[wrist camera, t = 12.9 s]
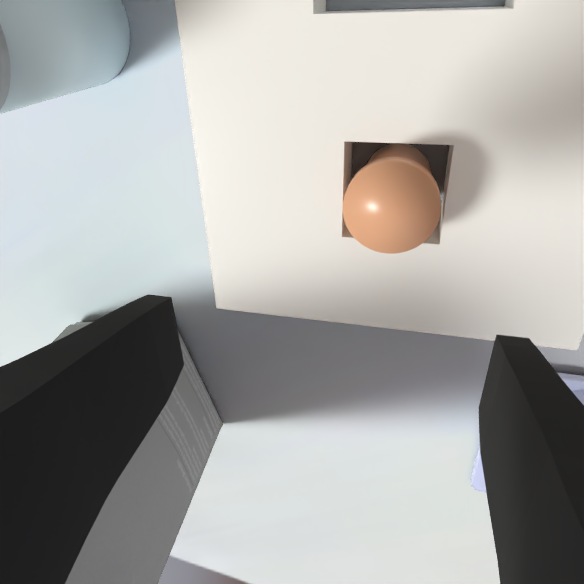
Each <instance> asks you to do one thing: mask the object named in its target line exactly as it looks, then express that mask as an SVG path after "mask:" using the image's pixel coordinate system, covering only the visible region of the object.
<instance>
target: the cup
mask: <svg viewBox="0 0 584 584" xmlns="http://www.w3.org/2000/svg"><path fill="white" fill-rule="evenodd" d="M129 48H130V27H129V21H128V17H127V13H126V10H125V7H124V5H123V2H122V0H0V114H1V113H5V112H8V111H12V110H15V109H19V108H22V107H25V106H29V105H32V104H36V103H39V102H43V101H46V100H50V99H53V98H56V97H60V96H63V95H67V94H70V93H74V92H77V91H81V90H84V89H88V88H91V87H94V86H98V85H101V84H104V83H107V82H109V81H110V80H112V79H114V78H115V77H116V76H117V75H118V74H119V72H120V71H121V70H122V68H123V67H124V65H125V63H126V60H127V57H128V53H129Z"/></svg>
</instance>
